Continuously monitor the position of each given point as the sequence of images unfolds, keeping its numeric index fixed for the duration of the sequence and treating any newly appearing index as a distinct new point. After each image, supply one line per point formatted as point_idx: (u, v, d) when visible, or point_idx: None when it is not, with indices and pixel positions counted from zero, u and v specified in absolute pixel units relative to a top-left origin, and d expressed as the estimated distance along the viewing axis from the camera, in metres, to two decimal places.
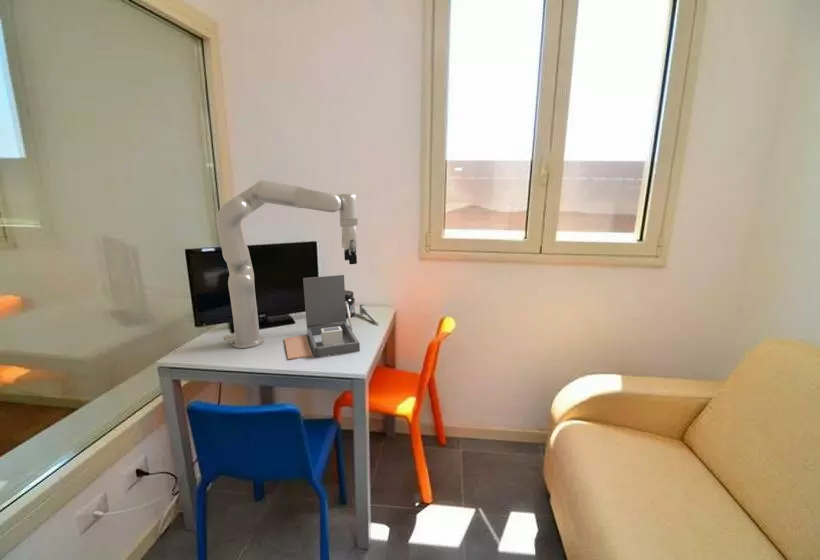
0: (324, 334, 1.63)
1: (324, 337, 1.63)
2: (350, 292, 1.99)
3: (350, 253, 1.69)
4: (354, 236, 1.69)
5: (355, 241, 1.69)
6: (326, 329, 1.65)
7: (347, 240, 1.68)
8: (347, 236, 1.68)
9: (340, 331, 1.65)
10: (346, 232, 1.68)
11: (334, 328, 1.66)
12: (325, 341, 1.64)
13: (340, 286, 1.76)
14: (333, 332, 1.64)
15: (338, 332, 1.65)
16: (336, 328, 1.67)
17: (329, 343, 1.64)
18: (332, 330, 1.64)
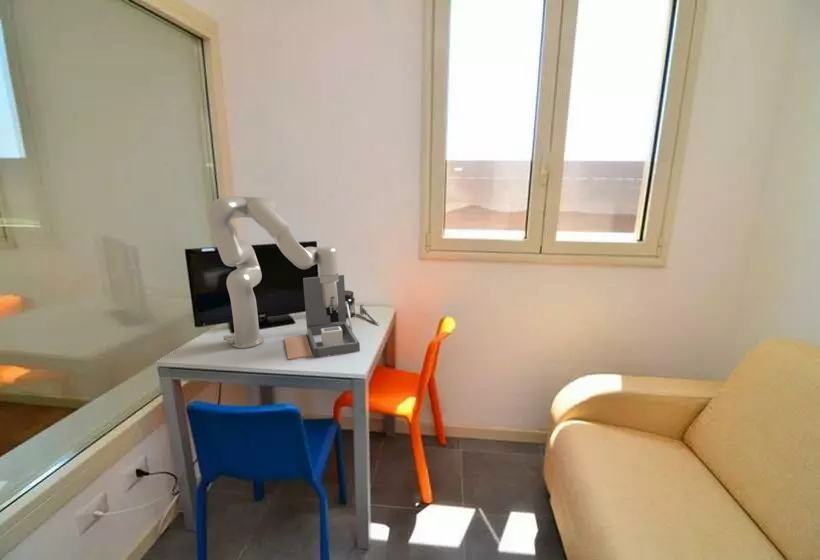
0: (324, 334, 1.63)
1: (324, 337, 1.63)
2: (350, 292, 1.99)
3: (331, 311, 1.58)
4: (335, 293, 1.58)
5: (336, 298, 1.58)
6: (326, 329, 1.65)
7: (327, 298, 1.57)
8: (327, 293, 1.57)
9: (340, 331, 1.65)
10: (326, 289, 1.57)
11: (334, 328, 1.66)
12: (325, 341, 1.64)
13: (340, 286, 1.76)
14: (333, 332, 1.64)
15: (338, 332, 1.65)
16: (336, 328, 1.67)
17: (329, 343, 1.64)
18: (332, 330, 1.64)
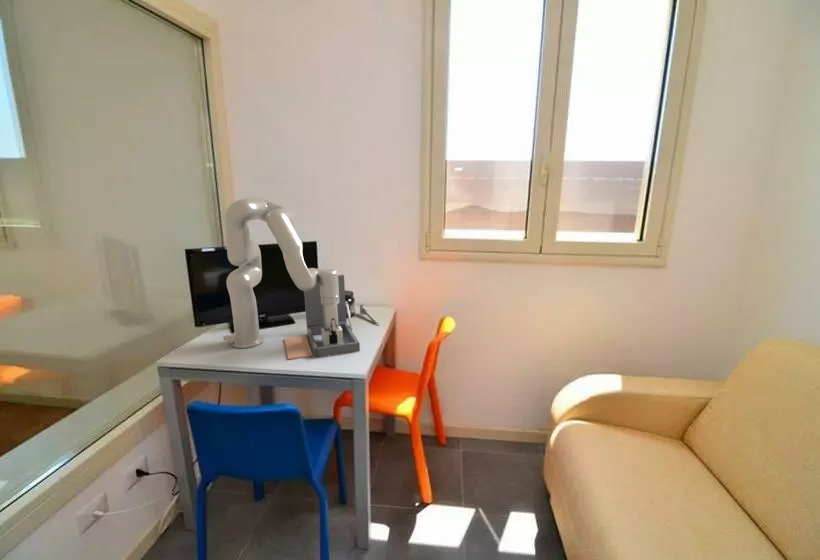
0: (324, 334, 1.63)
1: (325, 337, 1.63)
2: (350, 292, 1.99)
3: (330, 334, 1.62)
4: (335, 315, 1.60)
5: (336, 320, 1.61)
6: (326, 329, 1.65)
7: (328, 319, 1.59)
8: (328, 315, 1.59)
9: (340, 331, 1.65)
10: (326, 311, 1.59)
11: None
12: (326, 341, 1.63)
13: (340, 286, 1.76)
14: None
15: (338, 332, 1.65)
16: None
17: (329, 343, 1.64)
18: None
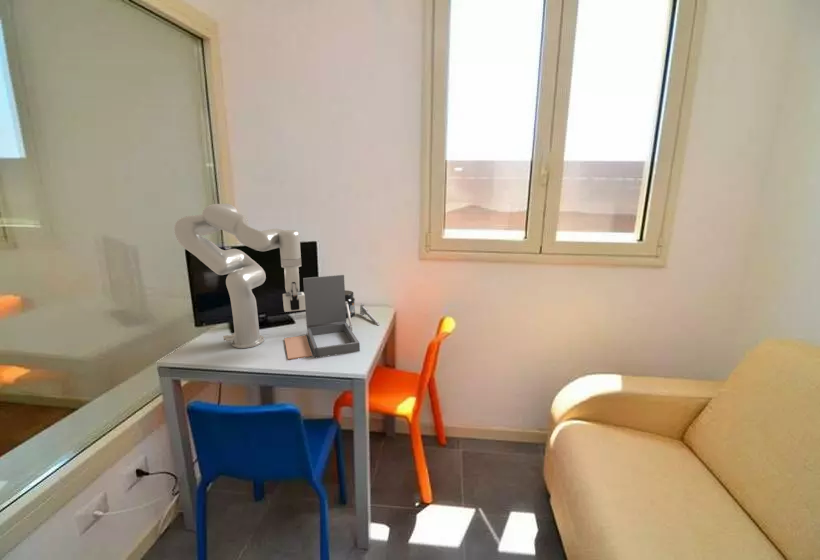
0: (285, 299, 1.54)
1: (285, 302, 1.54)
2: (350, 292, 1.99)
3: (291, 299, 1.53)
4: (296, 278, 1.52)
5: (297, 283, 1.52)
6: (288, 294, 1.57)
7: (288, 283, 1.51)
8: (288, 278, 1.50)
9: (302, 296, 1.56)
10: (287, 274, 1.50)
11: None
12: (286, 306, 1.55)
13: (340, 286, 1.76)
14: None
15: (300, 297, 1.56)
16: (298, 293, 1.58)
17: (290, 308, 1.56)
18: None
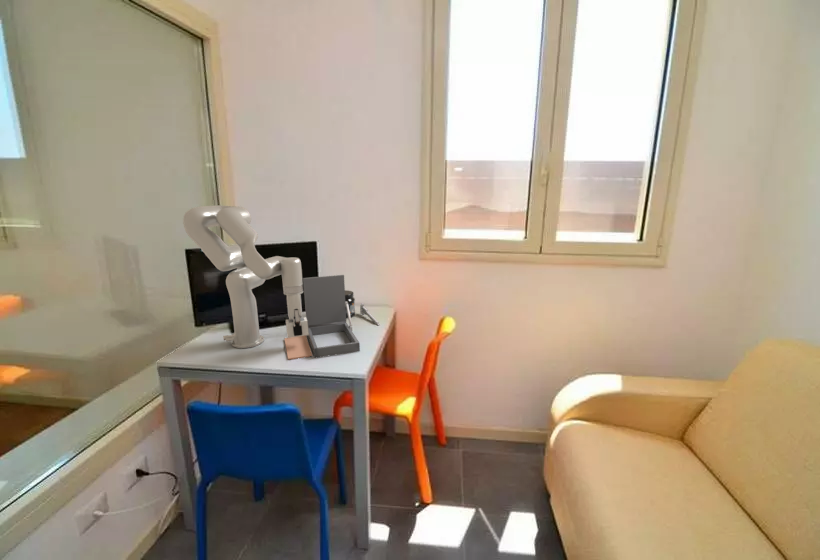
0: (288, 325, 1.56)
1: (289, 328, 1.57)
2: (350, 292, 1.99)
3: (294, 325, 1.56)
4: (298, 305, 1.54)
5: (300, 310, 1.54)
6: (291, 320, 1.59)
7: (290, 310, 1.53)
8: (290, 305, 1.53)
9: (305, 322, 1.59)
10: (289, 301, 1.53)
11: None
12: (290, 332, 1.57)
13: (340, 286, 1.76)
14: None
15: (303, 323, 1.58)
16: (301, 318, 1.60)
17: None
18: None
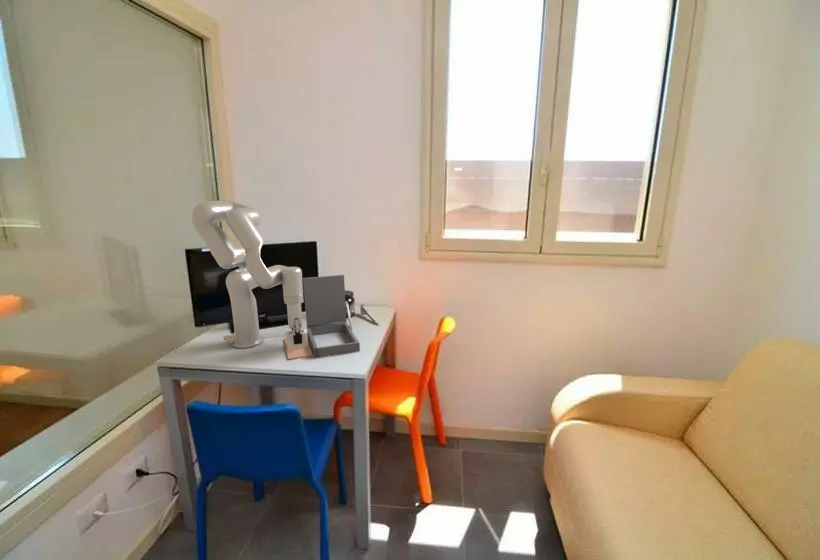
0: (288, 337, 1.58)
1: (289, 340, 1.58)
2: (350, 292, 1.99)
3: (294, 333, 1.55)
4: (298, 314, 1.55)
5: (300, 319, 1.55)
6: (291, 332, 1.60)
7: (291, 319, 1.54)
8: (290, 315, 1.54)
9: (305, 334, 1.60)
10: (289, 310, 1.54)
11: None
12: (290, 344, 1.59)
13: (340, 286, 1.76)
14: None
15: (303, 335, 1.60)
16: (301, 330, 1.62)
17: (294, 346, 1.59)
18: None
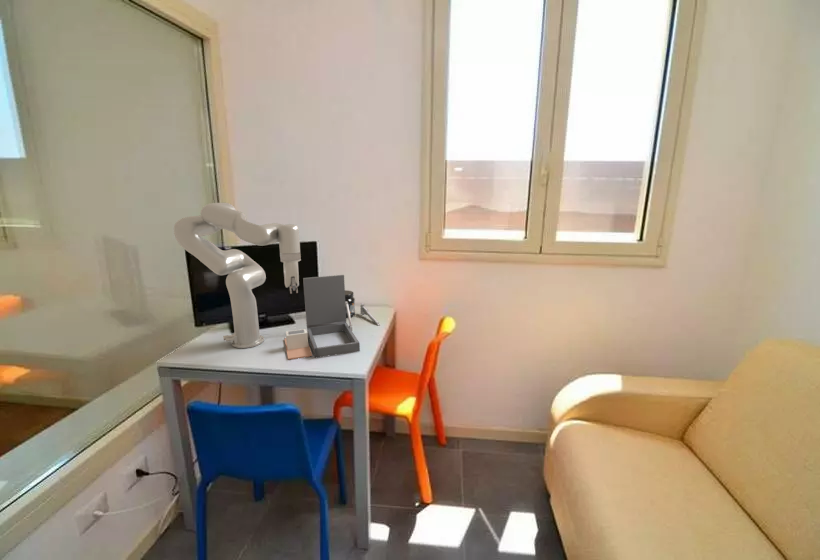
0: (288, 337, 1.58)
1: (289, 340, 1.58)
2: (350, 292, 1.99)
3: (290, 291, 1.51)
4: (295, 272, 1.51)
5: (296, 278, 1.52)
6: (291, 332, 1.60)
7: (287, 277, 1.50)
8: (287, 273, 1.50)
9: (305, 334, 1.60)
10: (286, 268, 1.50)
11: (299, 331, 1.61)
12: (290, 344, 1.59)
13: (340, 286, 1.76)
14: (298, 335, 1.59)
15: (303, 335, 1.60)
16: (301, 330, 1.62)
17: (294, 346, 1.59)
18: (297, 333, 1.60)
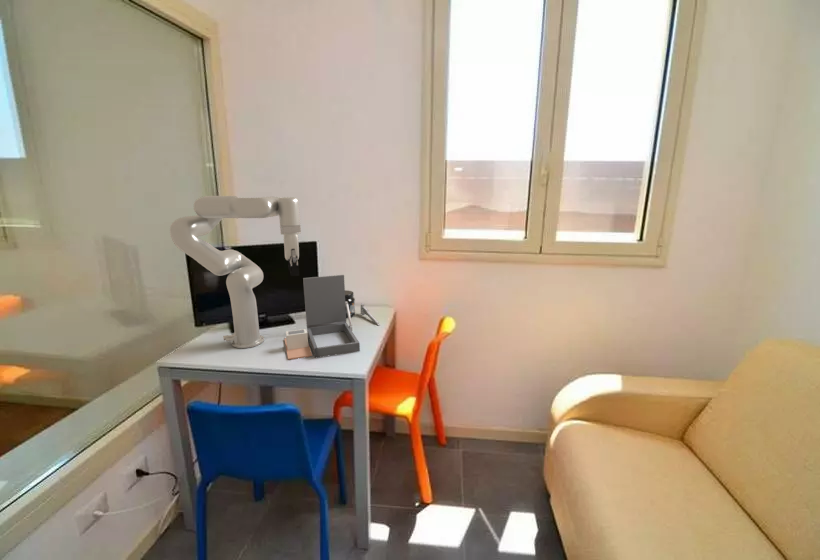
0: (288, 337, 1.58)
1: (289, 340, 1.58)
2: (350, 292, 1.99)
3: (291, 264, 1.51)
4: (295, 245, 1.52)
5: (297, 250, 1.52)
6: (291, 332, 1.60)
7: (287, 249, 1.51)
8: (287, 245, 1.51)
9: (305, 334, 1.60)
10: (286, 240, 1.51)
11: (299, 331, 1.61)
12: (290, 344, 1.59)
13: (340, 286, 1.76)
14: (298, 335, 1.59)
15: (303, 335, 1.60)
16: (301, 330, 1.62)
17: (294, 346, 1.59)
18: (297, 333, 1.60)
